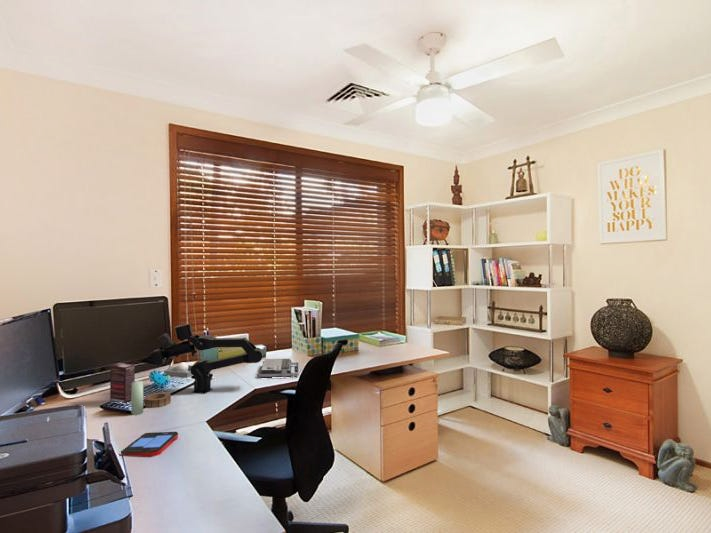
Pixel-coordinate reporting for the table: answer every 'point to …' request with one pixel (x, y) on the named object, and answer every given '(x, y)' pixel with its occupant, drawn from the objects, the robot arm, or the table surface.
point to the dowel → (137, 398)
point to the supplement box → (121, 382)
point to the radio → (277, 368)
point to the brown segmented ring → (157, 399)
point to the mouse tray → (177, 372)
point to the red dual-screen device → (150, 444)
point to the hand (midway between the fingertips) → (144, 358)
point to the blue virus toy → (159, 378)
